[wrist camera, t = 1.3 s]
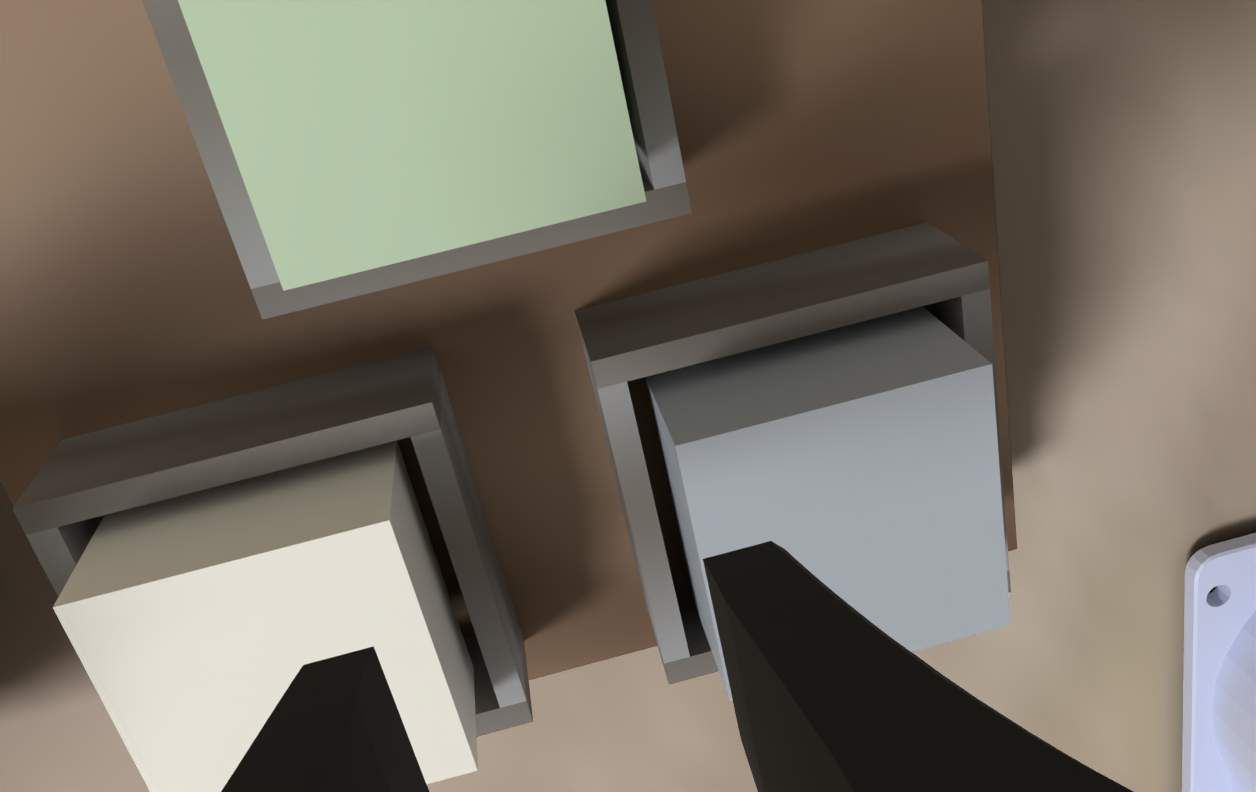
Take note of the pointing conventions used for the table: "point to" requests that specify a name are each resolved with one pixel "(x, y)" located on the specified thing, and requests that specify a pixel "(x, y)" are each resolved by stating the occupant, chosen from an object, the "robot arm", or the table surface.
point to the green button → (415, 122)
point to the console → (479, 300)
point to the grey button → (847, 472)
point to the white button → (267, 614)
